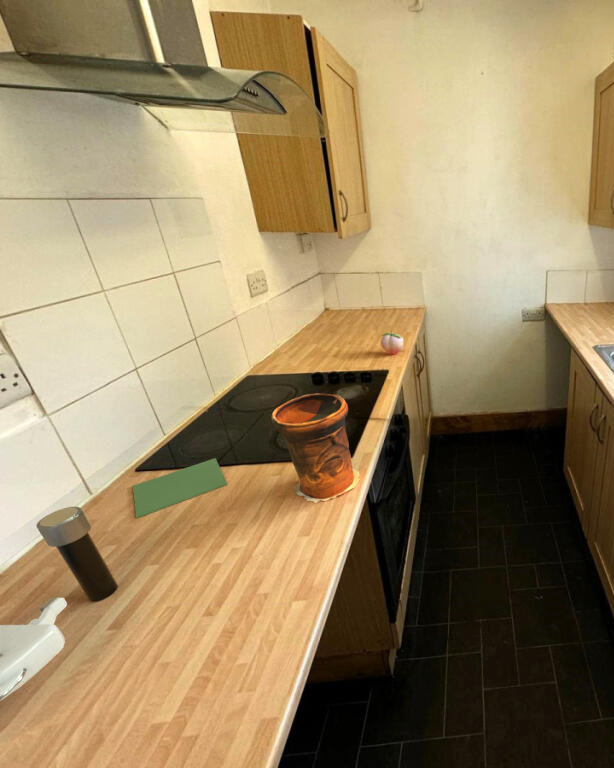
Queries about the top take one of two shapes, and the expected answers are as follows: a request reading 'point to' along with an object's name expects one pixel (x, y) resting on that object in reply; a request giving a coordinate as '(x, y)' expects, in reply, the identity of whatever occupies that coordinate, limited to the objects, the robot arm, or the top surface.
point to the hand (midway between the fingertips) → (26, 601)
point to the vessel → (317, 445)
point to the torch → (78, 551)
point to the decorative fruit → (392, 342)
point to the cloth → (177, 487)
